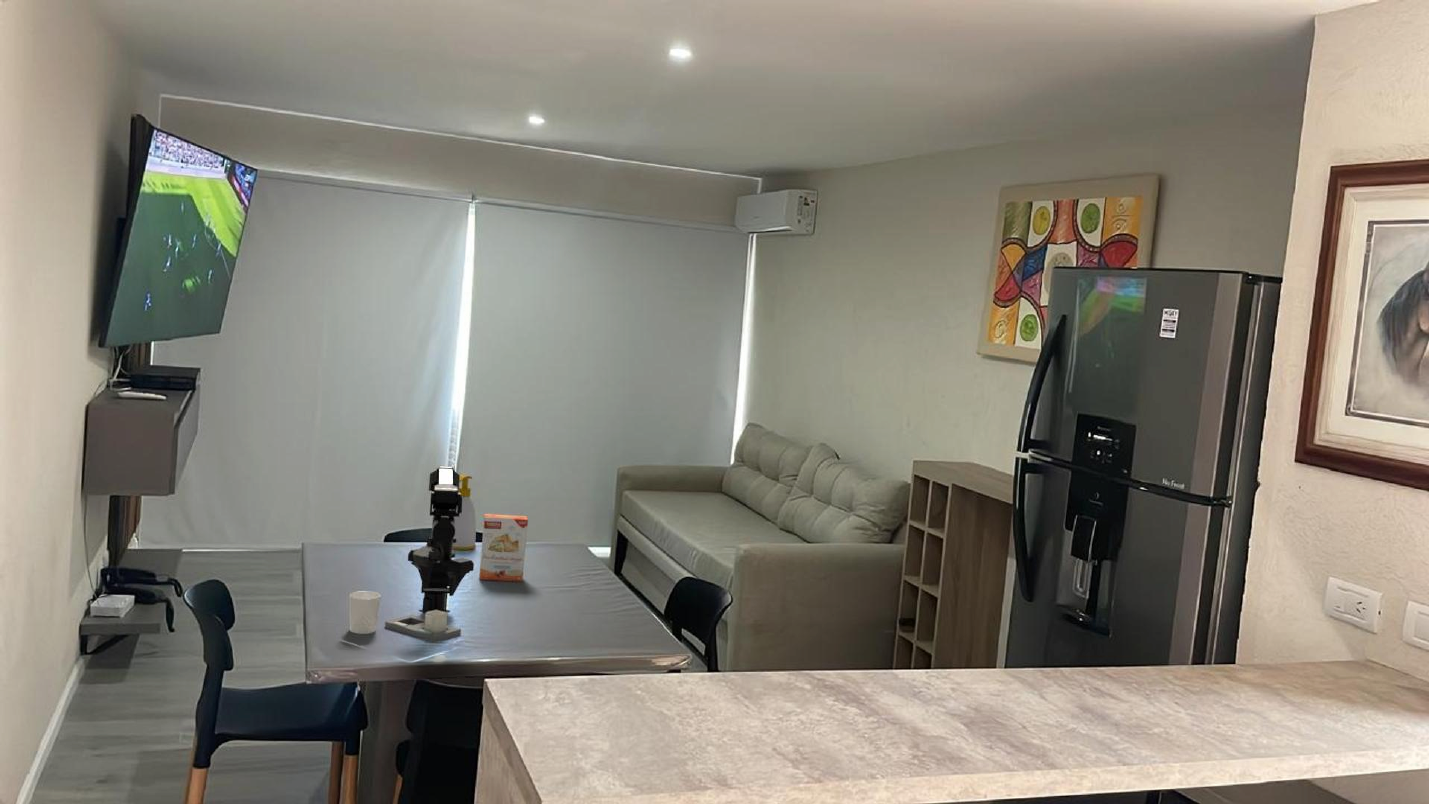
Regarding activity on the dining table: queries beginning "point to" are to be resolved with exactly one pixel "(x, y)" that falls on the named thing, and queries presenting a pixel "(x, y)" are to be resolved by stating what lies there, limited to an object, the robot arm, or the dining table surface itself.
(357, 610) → the white cup
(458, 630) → the gray socket board
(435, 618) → the plug
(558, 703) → the dining table surface
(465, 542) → the soap bottle
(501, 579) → the cracker box
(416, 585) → the dining table surface
